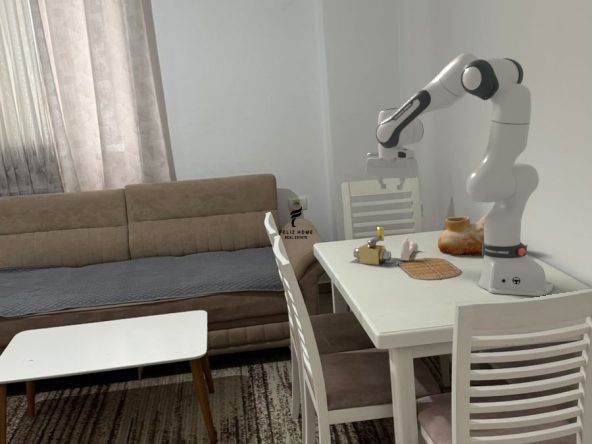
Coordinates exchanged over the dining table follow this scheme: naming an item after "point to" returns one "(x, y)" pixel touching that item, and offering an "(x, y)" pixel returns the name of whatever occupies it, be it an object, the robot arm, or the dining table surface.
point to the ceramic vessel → (462, 237)
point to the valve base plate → (380, 264)
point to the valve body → (372, 254)
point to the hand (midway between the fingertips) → (391, 189)
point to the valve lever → (379, 238)
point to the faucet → (408, 249)
